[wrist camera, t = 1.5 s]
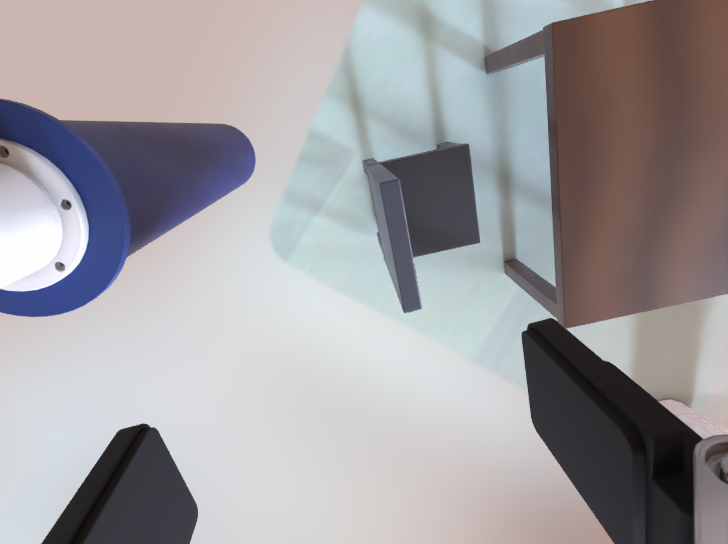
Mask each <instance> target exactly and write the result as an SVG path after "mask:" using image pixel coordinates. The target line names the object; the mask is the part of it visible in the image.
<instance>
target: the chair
mask: <svg viewBox="0 0 728 544" xmlns="http://www.w3.org/2000/svg"><path fill="white" fill-rule="evenodd" d="M363 166H364V171H365V173H366V175H367V176H368V180H369V185H370V190H371V195H372V200H373V205H374V210H375V215H376V220H377V225H378V230H379V232H378V233H377V235H378V240H379V244H380V247H381V249H382V252H383V255H384V260H385V262H386V265H387V268H388V270H389V273H390V276H391V279H392V281H393V284H394V287H395V290H396V292H397V295H398V298H399V301H400V303H401V306H402V309H403V312H404V313H409V312H413V311H418V310H421V309H422V305H421V299H420V294H419V288H418V282H417V276H416V271H415V265H414V259H413V257H417V256H422V255H427V254H431V253H436V252H440V251H445V250H450V249H454V248H459V247H463V246H468V245H472V244H477V243H480V237H479V228H478V219H477V210H476V202H475V193H474V184H473V175H472V167H471V158H470V149H469V144H457V143H450V142H445V143H440V144H437V150H433V151H428V152H424V153H419V154H415V155H410V156H405V157H401V158H396V159H392V160H387V161H383V162H377V161H376V160H374V159H373V158H372V159H368V160H363Z"/></svg>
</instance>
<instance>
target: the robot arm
mask: <svg viewBox="0 0 728 544" xmlns="http://www.w3.org/2000/svg"><path fill="white" fill-rule="evenodd" d="M70 203H71V204H70ZM88 233H89V225H88V220H87V215H86V211H85V208H84V205H83V203H82V200H81V198H80V196H79V194H78V193H77V191H76V189H75V188H74V186H73V184H72V183H71V182H70V181H69V179H68V178H67V177H66V176H65V175H64V174H63V172H62V171H61V170H60V169H59V168H57V167H56V166H55V165H54V164H53V163H52V162H50V161H49V160H48V159H47V158H45V157H44V156H42V155H40V154H39V153H37V152H36V151H34V150H33V149H30V148H28V147H26V146H23V145H21V144H19V143H17V142H13V141H9V140H5V139H1V138H0V289H3V290H8V291H30V290H38V289H41V288H44V287H47V286H50V285H52V284H54V283H56V282H58V281H60V280H61V279H63V278H64V277H66V276H67V275H68V274H70V273H71V272H72V271H73V270H74V269H75V268H76V267H77V265H78V264H79V263H80V261H81V259H82V257H83V255H84V253H85V251H86V247H87V243H88ZM522 344H523V352H524V361H525V369H526V378H527V386H528V394H529V403H530V410H531V418H532V422H533V425H534V427H535V429H536V431H537V433H538V434H539V436H540V437H541V438H542V439H543V441H544V442H545V444H546V446H547V447H548V449H549V450H550V451H551V453H552V454H553V456H554V457H555V459H556V460H557V462H558V463H559V464H560V466H561V467H562V469H563V470H564V472H565V473H566V474H567V476H568V477H569V479H570V480H571V482H572V483H573V485H574V486H575V488H576V489H577V490H578V492H579V493H580V495H581V496H582V498H583V499H584V500H585V502H586V503H587V505H588V506H589V507H590V509H591V511H593V513H594V515H595V516H596V518H597V519H598V521H599V522H600V524H601V525H602V526H603V528H604V529H605V531H606V532H607V534H608V535H609V537H610V538H611V539H612V541H613V542H614V544H728V434H725V435H713V436H711V437H708V438H705V439H703V438H702V437H701V436H699V435H698V434H697V433H696V432H695V431H693V430H692V429H691V428H690V427H689V426H687V425H686V424H685V423H684V422H683V421H681V420H680V419H679V418H678V417H676V416H675V415H674V414H673V413H672V412H670V411H669V410H668V409H667V408H666V407H664V406H663V405H662V404H661V403H660V402H658V401H657V400H656V399H655V398H653V397H652V396H651V395H650V394H649V393H647V392H646V391H645V390H644V389H643V388H641V387H640V386H639V385H638V384H637V383H635V382H634V381H633V380H632V379H630V378H629V377H628V376H627V375H626V374H624V373H623V372H622V371H621V370H620V369H618V368H617V367H616V366H615V365H613V364H612V363H610V362H607V361H603V360H602V359H601V358H600V357H598V356H597V355H596V354H595V353H594V352H593V351H591V350H590V349H589V348H588V347H587V346H585V345H584V344H583V343H582V342H581V341H579V340H578V339H577V338H576V337H575V336H574V335H572V334H571V333H570V332H569V331H568V330H566V329H565V328H564V327H563V326H562V325H560V324H559V323H558V322H557V321H556V320H554V319H553V318H549V319H546V320H542V321H538V322H534V323H530V324H529V325H528V327H527V331H523V332H522ZM197 517H198V509H197V505H196V503H195V501H194V499H193V497H192V495H191V493H190V491H189V489H188V487H187V485H186V483H185V481H184V480H183V478H182V476H181V474H180V472H179V470H178V468H177V466H176V464H175V462H174V461H173V459H172V457H171V455H170V453H169V451H168V449H167V447H166V445H165V443H164V441H163V439H162V438H161V436H160V434H159V432H158V430H157V429H156V428H151V427H150V426H149V425H147V424H140V425H137V426H132V427H128V428H124V429H121V430H119V431H118V432H117V433H116V435H115V437H114V438H113V439H112V441H111V442H110V444H109V445H108V447H107V448H106V450H105V451H104V452H103V454H102V456H101V457H100V458H99V460H98V461H97V463H96V464H95V466H94V467H93V469H92V470H91V472H90V473H89V475H88V476H87V477H86V479H85V481H84V482H83V483H82V485H81V486H80V488H79V489H78V491H77V492H76V494H75V495H74V497H73V498H72V500H71V501H70V503H69V504H68V505H67V507H66V509H65V510H64V511H63V513H62V514H61V516H60V517H59V519H58V520H57V522H56V523H55V525H54V526H53V528H52V529H51V531H50V532H49V534H48V535H47V536H46V538H45V539H44V541H43V542H42V544H190V541H191V538H192V534H193V531H194V528H195V525H196V522H197Z"/></svg>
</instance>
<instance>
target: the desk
mask: <svg viewBox="0 0 728 544" xmlns="http://www.w3.org/2000/svg"><path fill="white" fill-rule="evenodd" d="M543 56H545V74H546V94H547V115H548V135H549V155H550V176H551V196H552V216H553V237H554V257H555V277H556V288H555V287H554V286H553V285H551V284H550V283H549V282H547V281H546V280H545V279H543V278H542V277H540V276H539V275H538V274H536V273H535V272H534V271H532V270H531V269H530V268H528V267H527V266H525V265H524V264H523V263H521V262H520V261H519V260H517V259H515V260H510V261H505V262H504V267H505V274H506V275H507V276H509V277H510V278H511V279H512V280H513V281H514V282H515V283H517V284H518V285H519V286H520V287H521V288H522V289H523V290H525V291H526V292H527V293H528V294H529V295H530V296H531V297H533V298H534V299H535V300H536V301H537V302H538V303H540V304H541V305H542V306H543V307H544V308H545V309H546V310H548V311H549V312H550V313H551V314H552V315H553V316H554V317H556V318H557V319H558V323H559V324H560V325H562V326H563V327H564V328H565V329H566V328H571V327H576V326H580V325H585V324H590V323H594V322H599V321H603V320H608V319H613V318H617V317H622V316H627V315H631V314H636V313H641V312H645V311H650V310H654V309H659V308H664V307H668V306H673V305H678V304H682V303H687V302H691V301H696V300H701V299H705V298H710V297H715V296H719V295H724V294H728V0H652V1H648V2H643V3H639V4H634V5H630V6H625V7H621V8H616V9H612V10H607V11H603V12H598V13H594V14H589V15H585V16H580V17H576V18H571V19H567V20H562V21H558V22H553V23H551V24H549V25H547V26H545V27H543V30H542V31H539V32H537V33H535V34H533V35H531V36H529V37H527V38H524V39H522V40H520V41H518V42H516V43H514V44H512V45H509V46H507V47H505V48H503V49H501V50H499V51H496V52H494V53H492V54H490V55H488V56H486V57H485V66H486V74H489V73H493V72H498V71H502V70H505V69H508V68H511V67H514V66H517V65H520V64H523V63H526V62H529V61H532V60H534V59H537V58H540V57H543Z"/></svg>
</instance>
